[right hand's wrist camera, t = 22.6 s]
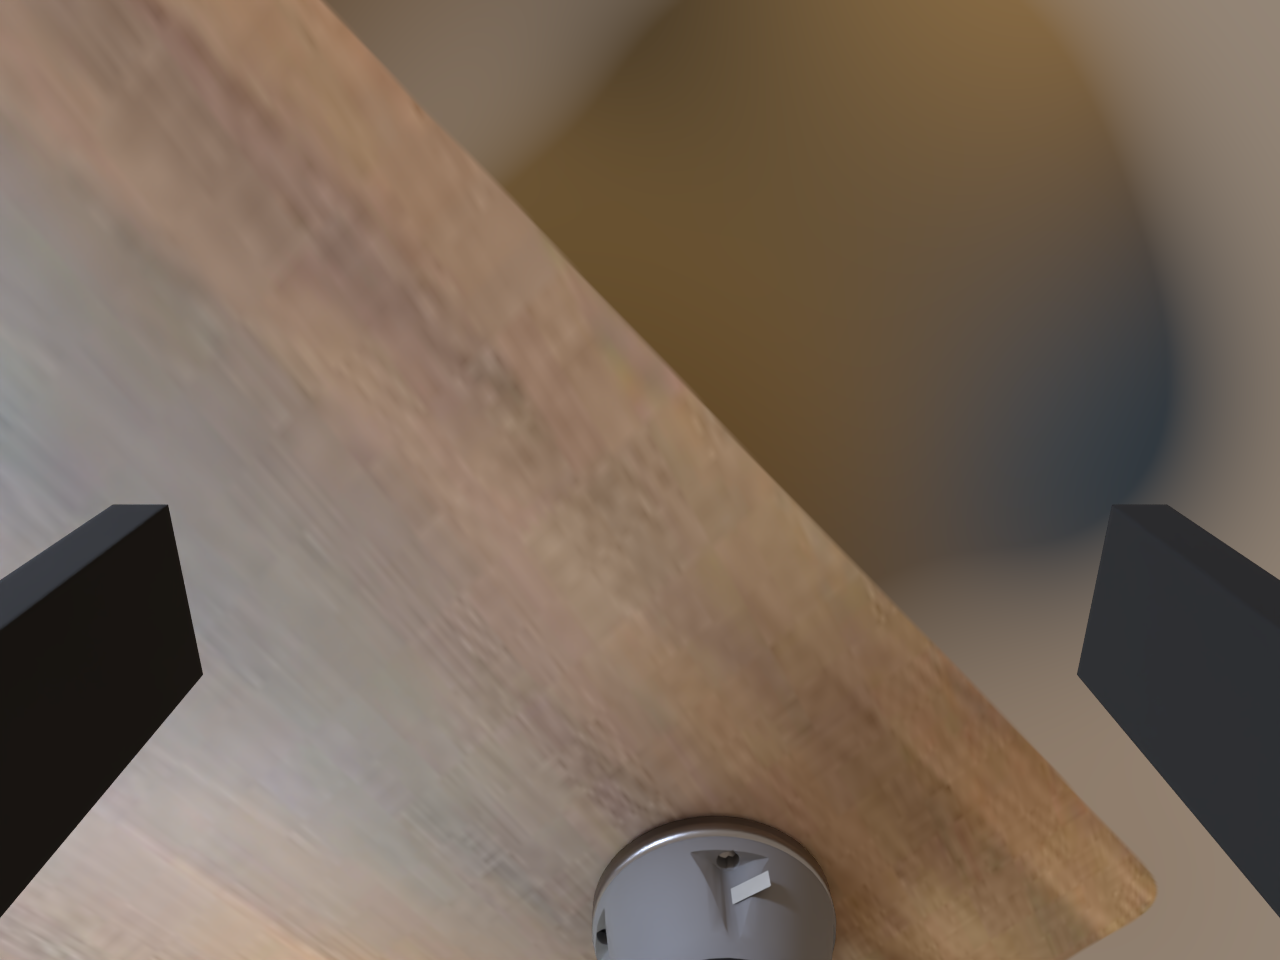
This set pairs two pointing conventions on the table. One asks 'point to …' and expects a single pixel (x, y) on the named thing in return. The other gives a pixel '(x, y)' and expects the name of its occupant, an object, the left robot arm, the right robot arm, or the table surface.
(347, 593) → the table surface
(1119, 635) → the right robot arm
